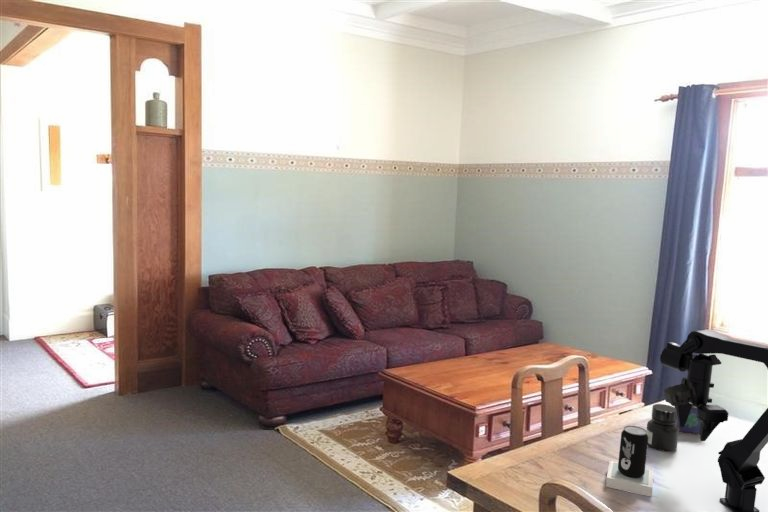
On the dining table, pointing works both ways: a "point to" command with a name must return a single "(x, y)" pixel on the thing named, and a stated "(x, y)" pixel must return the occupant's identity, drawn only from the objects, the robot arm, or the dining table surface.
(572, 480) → the dining table surface
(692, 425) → the flask
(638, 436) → the beverage can
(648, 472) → the trivet
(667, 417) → the ink bottle
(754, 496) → the robot arm
